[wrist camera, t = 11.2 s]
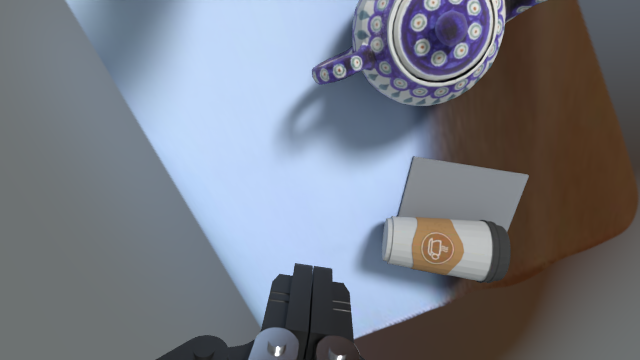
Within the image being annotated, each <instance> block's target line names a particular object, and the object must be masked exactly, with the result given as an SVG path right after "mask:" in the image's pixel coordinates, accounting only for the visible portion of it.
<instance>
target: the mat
mask: <svg viewBox="0 0 640 360" xmlns="http://www.w3.org/2000/svg"><path fill="white" fill-rule="evenodd" d="M528 177H529V175H526V174H520V173H514V172H508V171H501V170H495V169H489V168H483V167H476V166H470V165H464V164H458V163H452V162H445V161H439V160H433V159H427V158H420V157H414V156H413V160H412V164H411V168H410V172H409V176H408V179H407V183H406V187H405V191H404V195H403V199H402V202H401V206H400V210H399V214H398V217H413V218H414V217H423V218H444V219H452V220H471V221H480V220H486V221H492V222H494V223H495V224H496V225H500V226H502V227H504V229H505V230H506V232H507V231H508V228H509V226H510V223H511V221H512V218H513V215H514V213H515V210H516V208H517V205H518V202H519V200H520V197H521V195H522V192H523V190H524V187H525V184H526V182H527V179H528Z"/></svg>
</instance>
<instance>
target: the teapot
mask: <svg viewBox="0 0 640 360" xmlns="http://www.w3.org/2000/svg"><path fill="white" fill-rule="evenodd" d="M544 1H547V0H402V2H401V0H359V2H358V4H357V7H356V9H355V14H354V19H353V24H352V45H353V46H352V47H351V48H350V49H349V50H347V51H345V52H343V53H341V54H339V55H337V56H334V57H332V58H330V59H328V60H326V61H324V62H322V63H320V64H319V65H317V66H315V67H314V68H313V69H312V77H313V79H314V80H315V81H316V82H317V83H318V84H327V83H331V82H336V81H339V80H342V79H345V78H347V77H349V76H351V75H353V74H355V73H357V72H359V71H362V72H363V74H364V75H365V77H366V78H367V80H368V81H369V82H370V83H371V84H372V85H373V86H374V87H375V88H376V89H377V90H378V91H379V92H381V93H382V94H384V95H385V96H387V97H388V98H390V99H393V100H395V101H397V102H399V103H402V104H408V105H413V106H430V105H435V104H440V103H443V102H446V101H448V100H450V99H453V98H455V97H457V96H459V95H461V94H462V93H464V92H466V91H467V90H469V89H470V88H471V87H472V86H473V85H474V84H475V83H476V82H477V81H478V80H479V79H480V78H481V77H482V76H483V75H484V74H485V73H486V72H487V70H488V69H489V68H490V67H491V65H492V63H493V61H494V59H495V57H496V55H497V53H498V50H499V47H500V44H501V41H502V37H503V34H504V27H505V23H506V22H508V21H510V20H511V19H513V18H514V17H515V16H517V15H518V14H520V13H521V12H523V11H525V10H527V9H528V8H530V7H532V6H534V5H536V4H538V3H541V2H544ZM400 2H401V3H400ZM399 4H400V5H399ZM398 6H399V8H398ZM397 8H398V10H397ZM396 11H397V12H396ZM395 14H396V15H395ZM394 18H395V19H394ZM393 21H394V23H393ZM392 28H393V34H392ZM392 36H393V42H392ZM393 43H394V46H393ZM394 48H395V49H394ZM395 51H396V52H395ZM396 53H397V55H396ZM397 56H398V57H397ZM398 58H399V59H398ZM399 60H400V61H401V63H402V64H401V63H400V61H399ZM402 65H403V66H404V67H405V68H406V69H407V70H408V71H409V72H410V73H412V74H414V75H415V76H412V75H411V74H410V73H409V72H408V71H407V70H406V69H405V68H404V67H403V66H402Z"/></svg>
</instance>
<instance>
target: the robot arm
mask: <svg viewBox="0 0 640 360" xmlns="http://www.w3.org/2000/svg"><path fill="white" fill-rule="evenodd" d="M312 271H313V273H312ZM156 360H365V359H364V358H362V357H361V356H360V354H359V351H358V349H357V347H356V346H355V345H354V338H353V327H352V315H351V304H350V293H349V291H348V290H347V288H346V286H345V285H344V283H338V282H332V269H331V268H325V267H318V266H314V268H313V266H311V265H304V264H297V263H295V266H294V273H293V276H290V275H283V274H279V275H278V276H277V277H276V278H275V279H274V281H273V282H272V286H271V290H270V295H269V299H268V303H267V307H266V312H265V316H264V320H263V324H262V329H261V332H260V333H259V334H258V336H257V337H256V339H254V340H253V341H251V342H250V343H248V344H245V345H241V346H236V347H227V345H226V343H225V342H224V341H223V340H221V339H220V338H218V337H215V336H209V335H204V336H198V337H195V338H193V339H191V340H189V341H187V342H186V343H184V344H182V345H181V346H179V347H177V348H175V349H174V350H172V351H170V352H168V353H167V354H165V355H163V356H161V357H160V358H158V359H156Z"/></svg>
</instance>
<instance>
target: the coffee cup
mask: <svg viewBox="0 0 640 360" xmlns="http://www.w3.org/2000/svg"><path fill="white" fill-rule="evenodd" d="M382 259H383V261H387V263H388V264H393V265H399V266H404V267H409V268H411V269H416V270H421V271H426V272H432V273H437V274H442V275H451V276H456V277H461V278H467V279H472V280H476V281H477V282H480V283H482V282H487V283H491V282H493V281H499V280H501V279H502V278H503V277H504V276H505V274H506V272H507V270H508V267H509V262H510V241H509V237H508V234H507V232H506V230H505V229H504V227H502V226H500V225H496V224H495V223H494V222H492V221H486V220H480V221H471V220H452V219H444V218H423V217H414V218H413V217H393V216H392V217H391V218H386V221H385V225H384V231H383V240H382Z"/></svg>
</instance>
